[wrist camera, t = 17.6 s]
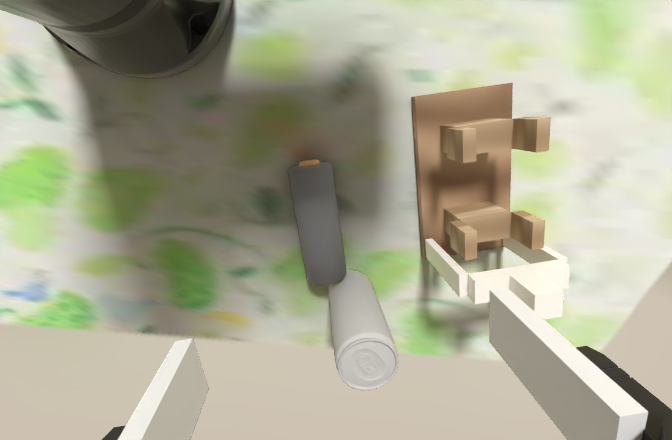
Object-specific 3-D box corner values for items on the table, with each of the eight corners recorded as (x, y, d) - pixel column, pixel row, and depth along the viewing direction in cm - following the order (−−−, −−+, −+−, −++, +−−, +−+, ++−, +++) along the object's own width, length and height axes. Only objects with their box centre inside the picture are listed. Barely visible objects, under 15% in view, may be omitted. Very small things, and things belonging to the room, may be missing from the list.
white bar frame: (425, 239, 34) (485, 303, 23) (509, 226, 35) (612, 282, 23) (426, 257, 35) (485, 329, 23) (509, 244, 35) (609, 308, 24)
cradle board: (411, 97, 31) (445, 91, 24) (506, 83, 32) (569, 74, 24) (421, 255, 36) (452, 293, 29) (503, 242, 37) (555, 276, 29)
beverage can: (342, 314, 38) (357, 402, 26) (318, 282, 36) (323, 360, 25) (379, 292, 37) (411, 371, 26) (356, 258, 36) (379, 326, 24)
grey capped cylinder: (298, 159, 33) (278, 167, 30) (336, 155, 32) (321, 163, 28) (316, 268, 37) (300, 287, 33) (351, 269, 35) (339, 289, 32)
